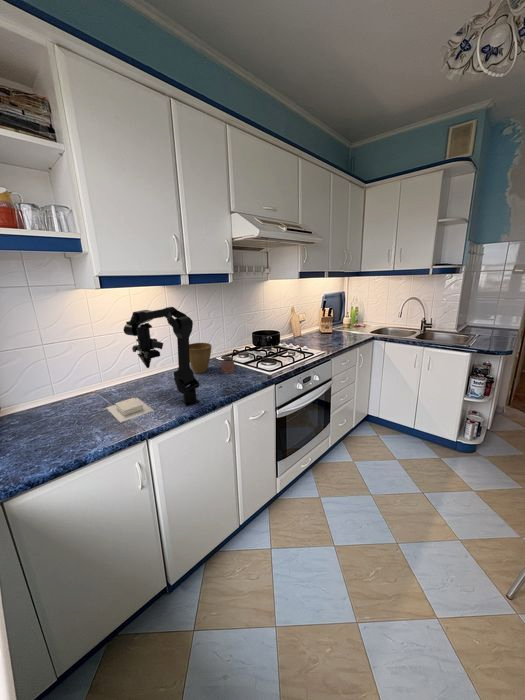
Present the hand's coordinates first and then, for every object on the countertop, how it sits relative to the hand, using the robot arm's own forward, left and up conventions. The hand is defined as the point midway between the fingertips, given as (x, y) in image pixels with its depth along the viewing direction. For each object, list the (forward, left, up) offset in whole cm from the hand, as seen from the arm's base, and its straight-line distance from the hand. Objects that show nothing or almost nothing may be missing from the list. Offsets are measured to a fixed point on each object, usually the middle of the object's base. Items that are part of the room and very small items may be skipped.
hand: (148, 367), depth 142 cm
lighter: (-6, -44, -13) cm, 46 cm away
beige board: (-12, +15, -13) cm, 23 cm away
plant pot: (+8, -34, -13) cm, 37 cm away
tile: (-7, +15, -11) cm, 20 cm away
